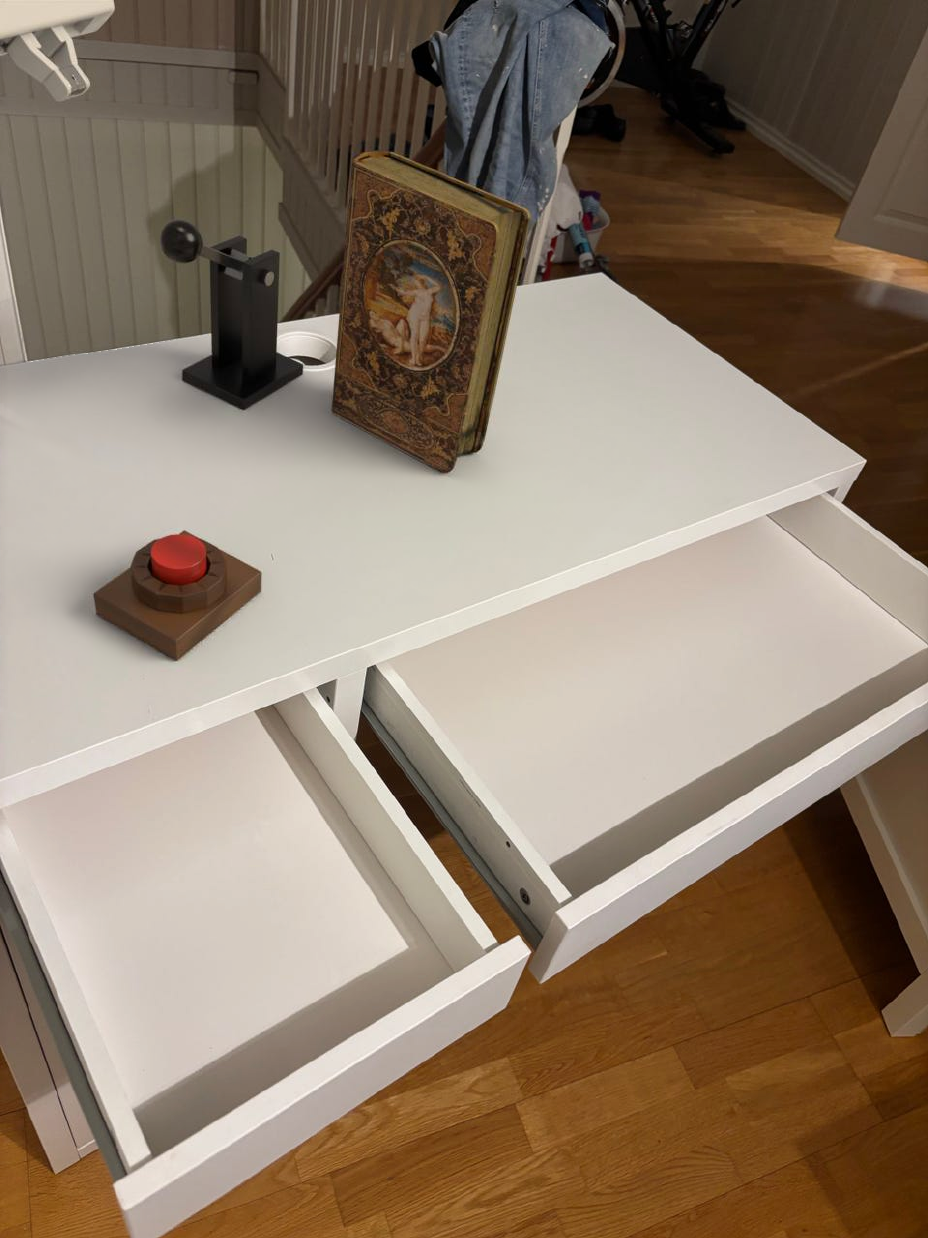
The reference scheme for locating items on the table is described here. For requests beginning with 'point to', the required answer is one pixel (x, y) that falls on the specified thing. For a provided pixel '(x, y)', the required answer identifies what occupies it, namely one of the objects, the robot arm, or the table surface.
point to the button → (178, 559)
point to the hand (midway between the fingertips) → (75, 94)
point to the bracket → (243, 332)
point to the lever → (197, 248)
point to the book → (424, 306)
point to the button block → (177, 600)
